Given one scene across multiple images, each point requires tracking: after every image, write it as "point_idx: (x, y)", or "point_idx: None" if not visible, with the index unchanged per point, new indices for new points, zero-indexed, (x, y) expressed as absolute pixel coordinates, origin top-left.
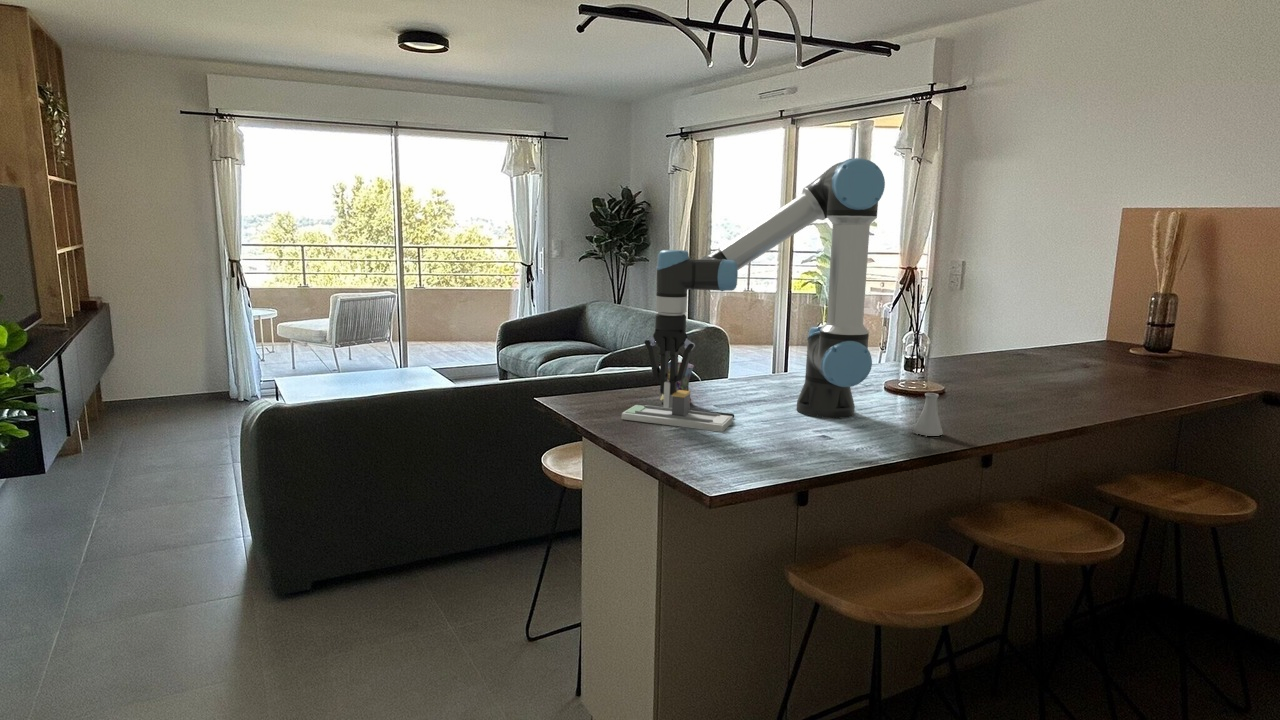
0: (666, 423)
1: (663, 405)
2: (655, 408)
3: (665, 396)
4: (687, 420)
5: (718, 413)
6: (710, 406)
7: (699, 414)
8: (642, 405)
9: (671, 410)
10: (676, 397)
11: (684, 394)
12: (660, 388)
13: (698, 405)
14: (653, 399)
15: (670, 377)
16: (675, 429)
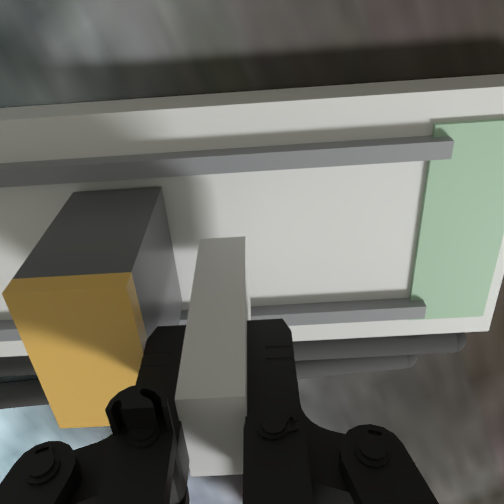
0: (171, 99)
1: (243, 244)
2: (342, 304)
3: (228, 293)
4: (13, 145)
5: (6, 396)
6: None
7: None
8: (447, 349)
9: None
10: (94, 270)
11: (20, 317)
12: (292, 353)
13: (208, 491)
14: (431, 490)
15: (162, 463)
16: (50, 4)
